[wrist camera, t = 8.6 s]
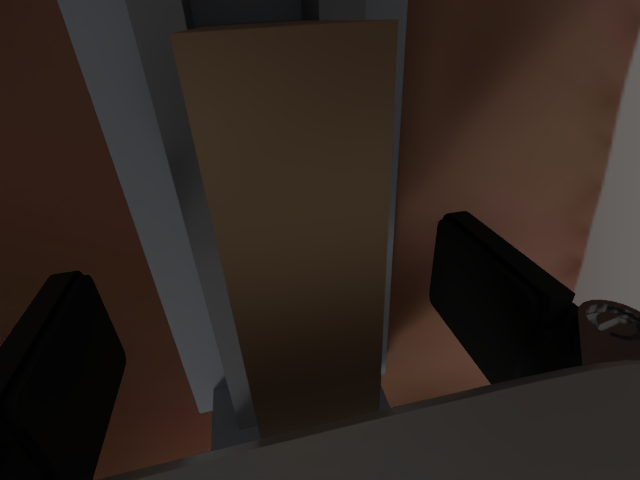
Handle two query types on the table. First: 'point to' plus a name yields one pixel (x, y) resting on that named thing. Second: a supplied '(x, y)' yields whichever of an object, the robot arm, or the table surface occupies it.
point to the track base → (192, 171)
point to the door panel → (298, 202)
